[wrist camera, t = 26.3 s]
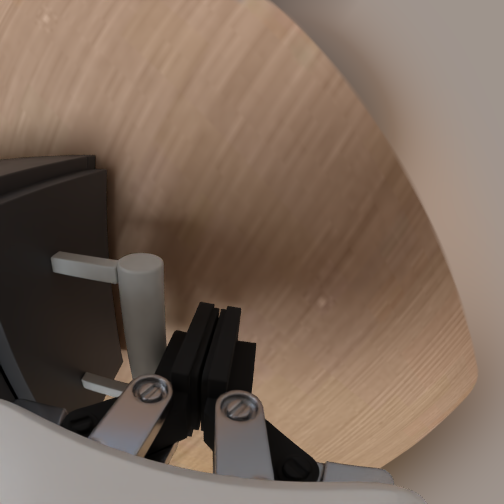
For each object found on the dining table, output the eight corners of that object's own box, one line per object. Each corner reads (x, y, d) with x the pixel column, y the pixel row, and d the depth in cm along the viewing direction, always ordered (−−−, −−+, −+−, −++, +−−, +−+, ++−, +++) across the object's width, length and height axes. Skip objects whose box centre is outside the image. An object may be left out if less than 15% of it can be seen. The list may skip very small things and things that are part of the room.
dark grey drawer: (195, 174, 12) (107, 228, 5) (189, 374, 16) (161, 489, 9) (-39, 174, 11) (-120, 206, 4) (-13, 316, 16) (-67, 371, 8)
